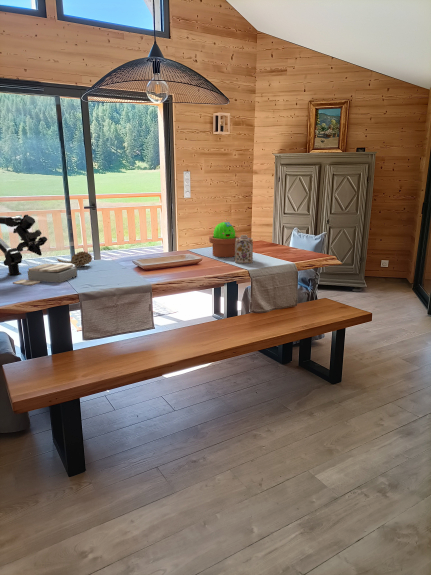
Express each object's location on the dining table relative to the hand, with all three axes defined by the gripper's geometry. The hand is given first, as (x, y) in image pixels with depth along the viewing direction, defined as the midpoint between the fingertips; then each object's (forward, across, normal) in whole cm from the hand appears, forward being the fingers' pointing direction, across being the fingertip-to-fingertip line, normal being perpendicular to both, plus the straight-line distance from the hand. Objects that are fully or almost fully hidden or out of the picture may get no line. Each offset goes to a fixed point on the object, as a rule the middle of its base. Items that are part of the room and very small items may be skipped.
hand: (41, 255), depth 241 cm
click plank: (+12, +1, -1) cm, 12 cm away
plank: (+10, -14, +8) cm, 19 cm away
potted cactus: (+62, +103, -40) cm, 126 cm away
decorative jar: (+75, +88, -56) cm, 129 cm away
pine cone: (+10, +28, +12) cm, 32 cm away
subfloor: (+14, +1, +4) cm, 15 cm away
